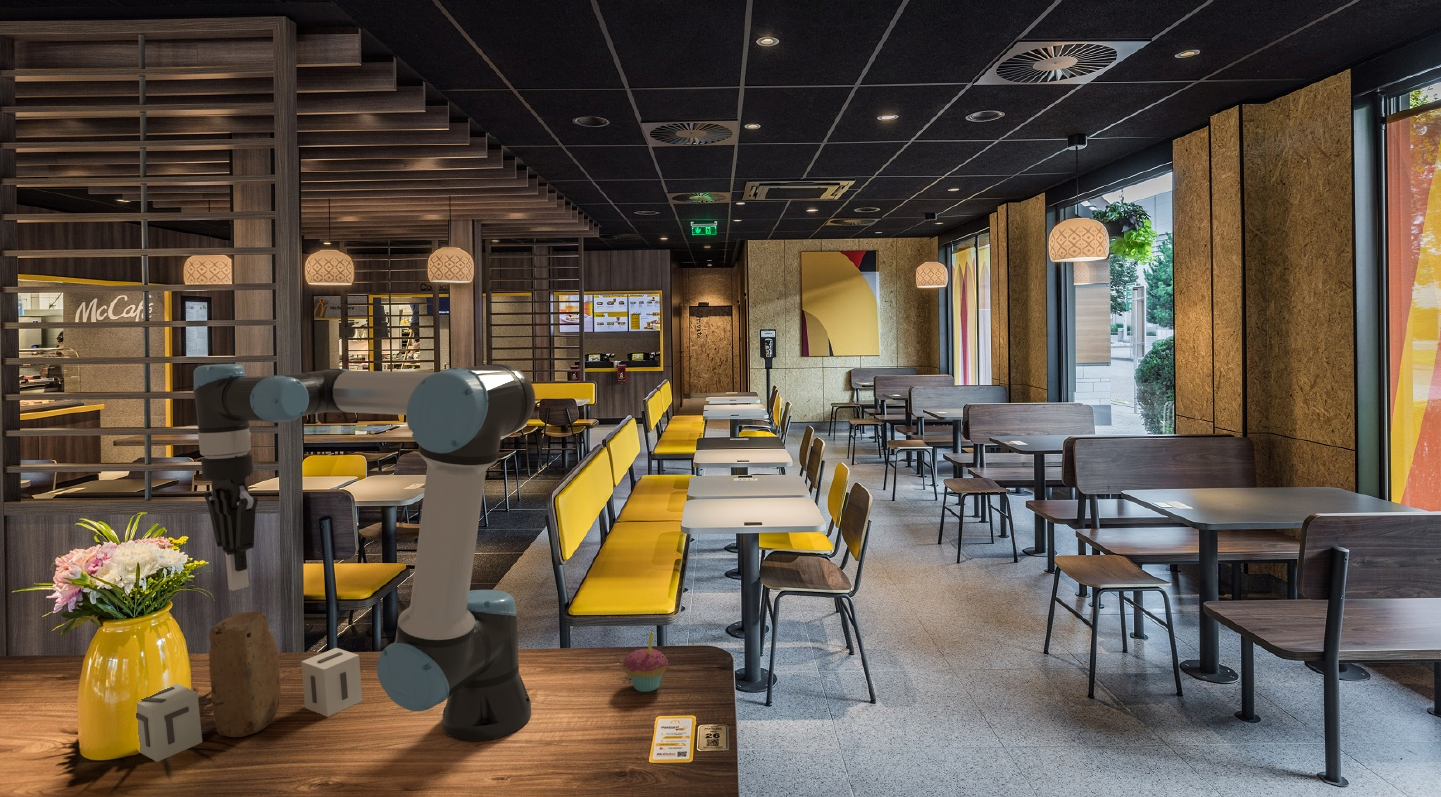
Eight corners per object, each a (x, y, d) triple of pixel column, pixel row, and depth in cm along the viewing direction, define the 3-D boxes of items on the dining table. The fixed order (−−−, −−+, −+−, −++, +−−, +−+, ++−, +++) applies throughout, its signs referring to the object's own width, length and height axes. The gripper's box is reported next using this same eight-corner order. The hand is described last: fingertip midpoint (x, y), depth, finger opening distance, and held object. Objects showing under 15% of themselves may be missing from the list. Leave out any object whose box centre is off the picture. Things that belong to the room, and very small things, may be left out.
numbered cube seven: (203, 742, 140) (198, 691, 139) (156, 763, 134) (150, 709, 133) (181, 732, 144) (176, 681, 143) (135, 751, 138) (129, 699, 137)
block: (251, 741, 140) (241, 628, 138) (210, 740, 141) (199, 628, 138) (289, 710, 151) (280, 605, 149) (251, 709, 151) (241, 605, 149)
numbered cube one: (363, 701, 154) (359, 653, 153) (327, 718, 148) (323, 668, 147) (339, 692, 158) (336, 646, 156) (303, 708, 151) (299, 660, 150)
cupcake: (677, 682, 158) (675, 622, 157) (650, 701, 151) (648, 638, 150) (641, 672, 163) (639, 614, 161) (614, 690, 156) (611, 629, 154)
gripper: (269, 453, 140) (281, 587, 143) (228, 448, 147) (240, 575, 149) (224, 461, 134) (237, 600, 136) (183, 455, 141) (196, 588, 143)
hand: (239, 587), depth 143 cm, fingers closed
